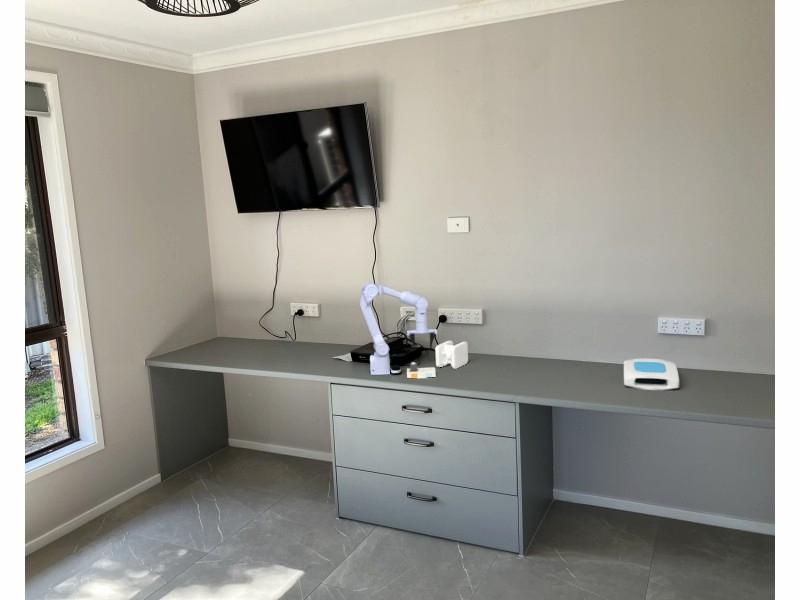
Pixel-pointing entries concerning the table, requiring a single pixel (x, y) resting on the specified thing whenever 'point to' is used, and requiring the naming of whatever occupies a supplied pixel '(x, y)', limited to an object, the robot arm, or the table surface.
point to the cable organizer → (451, 354)
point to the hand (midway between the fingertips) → (422, 348)
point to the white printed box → (421, 373)
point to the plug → (413, 367)
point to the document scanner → (650, 373)
